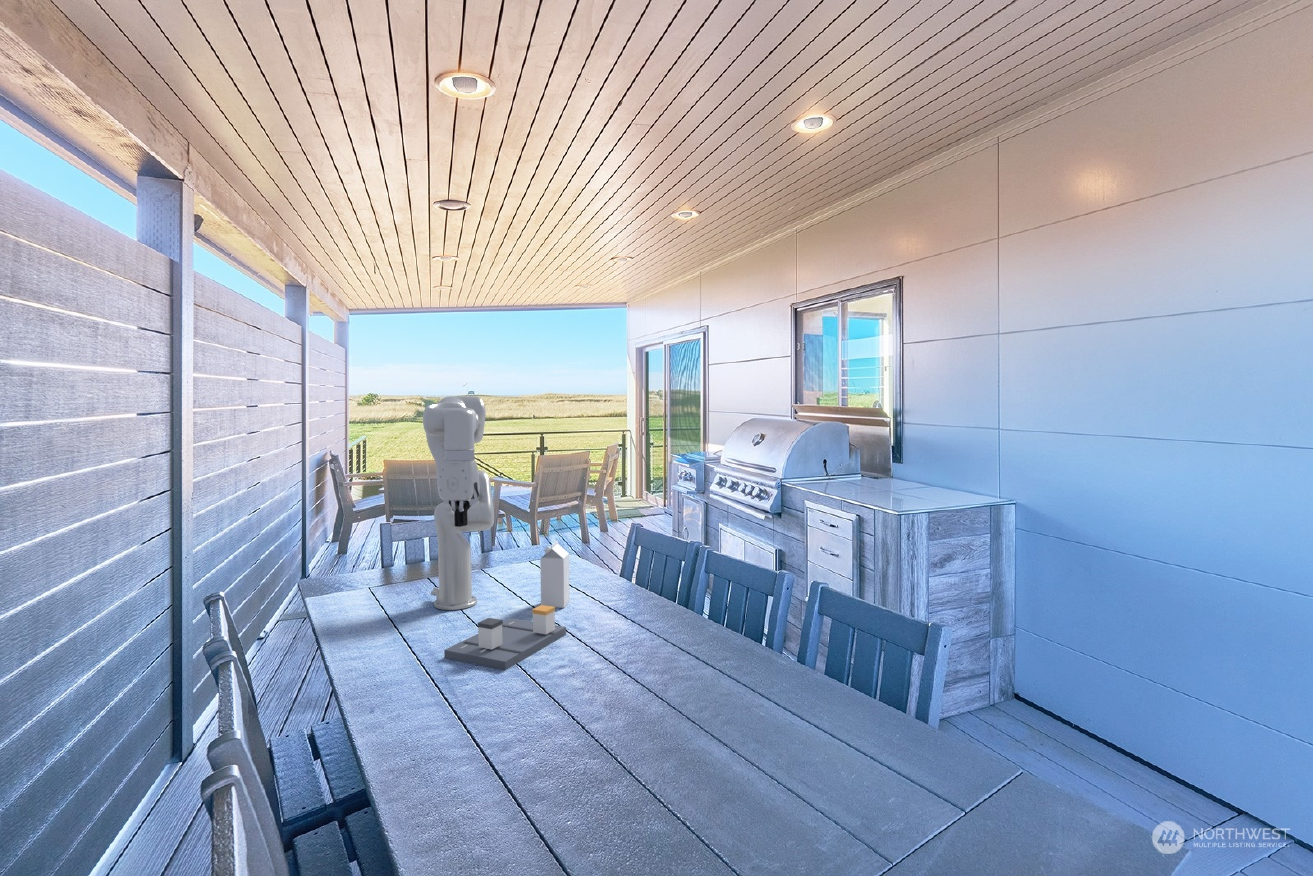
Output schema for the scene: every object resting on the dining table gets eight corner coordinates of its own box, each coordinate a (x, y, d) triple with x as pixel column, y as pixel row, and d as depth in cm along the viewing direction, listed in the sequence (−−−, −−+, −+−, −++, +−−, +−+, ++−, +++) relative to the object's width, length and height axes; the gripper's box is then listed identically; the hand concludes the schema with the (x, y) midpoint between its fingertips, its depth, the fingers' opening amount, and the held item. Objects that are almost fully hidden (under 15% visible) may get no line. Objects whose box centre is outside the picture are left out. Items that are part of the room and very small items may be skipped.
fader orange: (532, 632, 174) (532, 609, 174) (541, 627, 178) (541, 605, 178) (546, 634, 173) (545, 611, 172) (555, 629, 177) (555, 606, 176)
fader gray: (478, 647, 164) (477, 622, 164) (489, 641, 168) (488, 617, 168) (492, 649, 163) (491, 625, 162) (503, 644, 166) (502, 620, 166)
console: (444, 658, 164) (444, 649, 164) (510, 625, 187) (510, 617, 187) (505, 670, 156) (505, 661, 156) (566, 634, 180) (566, 626, 180)
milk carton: (569, 601, 209) (568, 540, 208) (564, 608, 202) (563, 545, 201) (547, 600, 210) (546, 540, 209) (540, 608, 203) (539, 545, 202)
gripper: (427, 456, 177) (428, 526, 178) (472, 458, 171) (474, 530, 172) (447, 454, 184) (448, 521, 185) (491, 456, 178) (493, 525, 179)
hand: (461, 525), depth 179 cm, fingers closed
